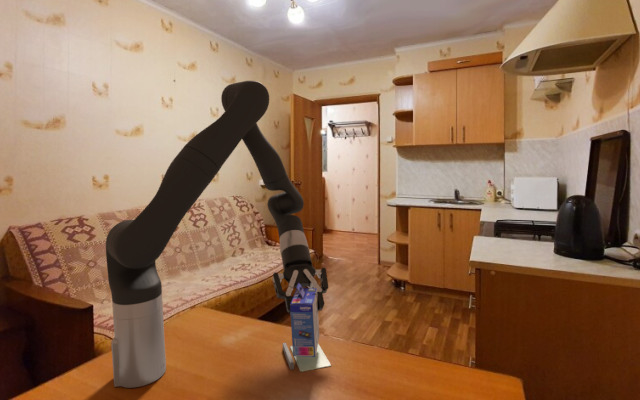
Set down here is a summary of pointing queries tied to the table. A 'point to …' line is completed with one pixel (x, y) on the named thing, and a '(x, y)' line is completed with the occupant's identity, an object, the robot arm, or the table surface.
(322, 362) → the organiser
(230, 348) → the table surface
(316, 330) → the ink cartridge box
